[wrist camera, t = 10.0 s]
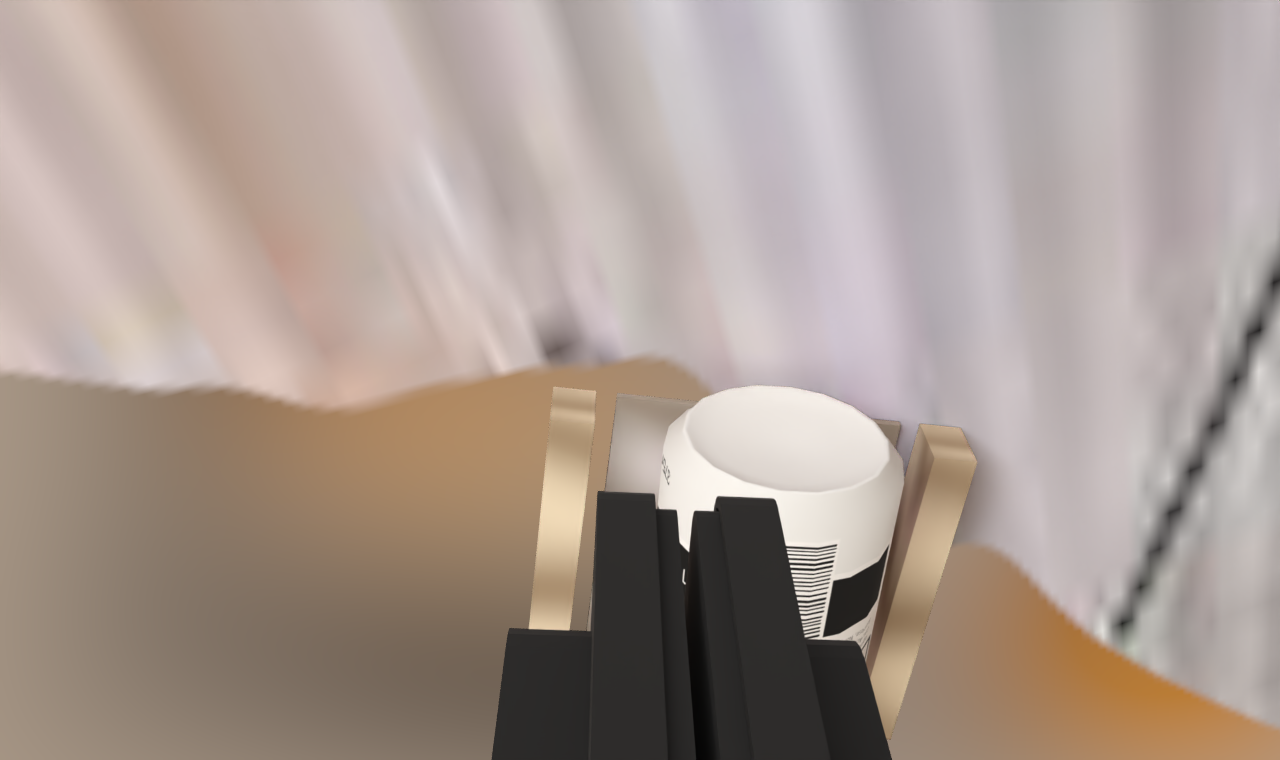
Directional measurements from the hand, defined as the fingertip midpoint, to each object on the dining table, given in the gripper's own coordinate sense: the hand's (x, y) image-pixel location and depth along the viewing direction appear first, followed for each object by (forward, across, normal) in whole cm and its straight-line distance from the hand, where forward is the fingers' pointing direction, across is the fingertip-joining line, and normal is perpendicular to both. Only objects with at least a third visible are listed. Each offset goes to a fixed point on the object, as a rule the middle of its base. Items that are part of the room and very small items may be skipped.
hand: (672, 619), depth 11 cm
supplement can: (+25, -6, +13) cm, 29 cm away
